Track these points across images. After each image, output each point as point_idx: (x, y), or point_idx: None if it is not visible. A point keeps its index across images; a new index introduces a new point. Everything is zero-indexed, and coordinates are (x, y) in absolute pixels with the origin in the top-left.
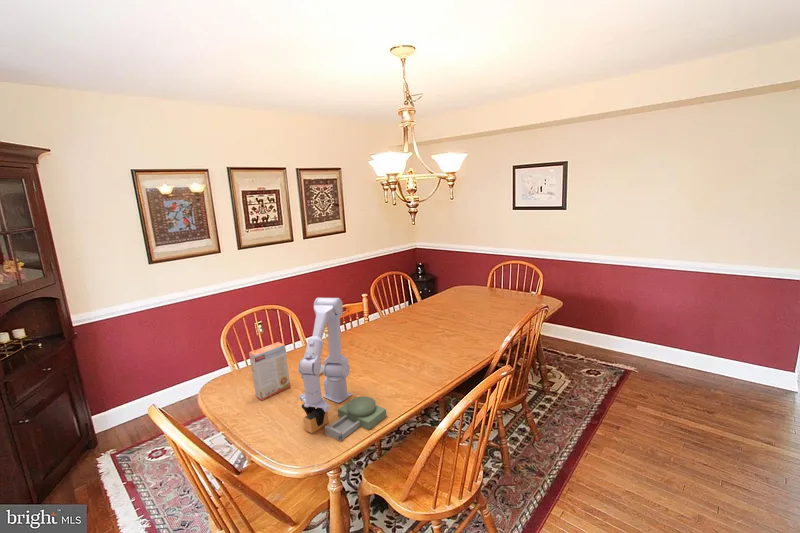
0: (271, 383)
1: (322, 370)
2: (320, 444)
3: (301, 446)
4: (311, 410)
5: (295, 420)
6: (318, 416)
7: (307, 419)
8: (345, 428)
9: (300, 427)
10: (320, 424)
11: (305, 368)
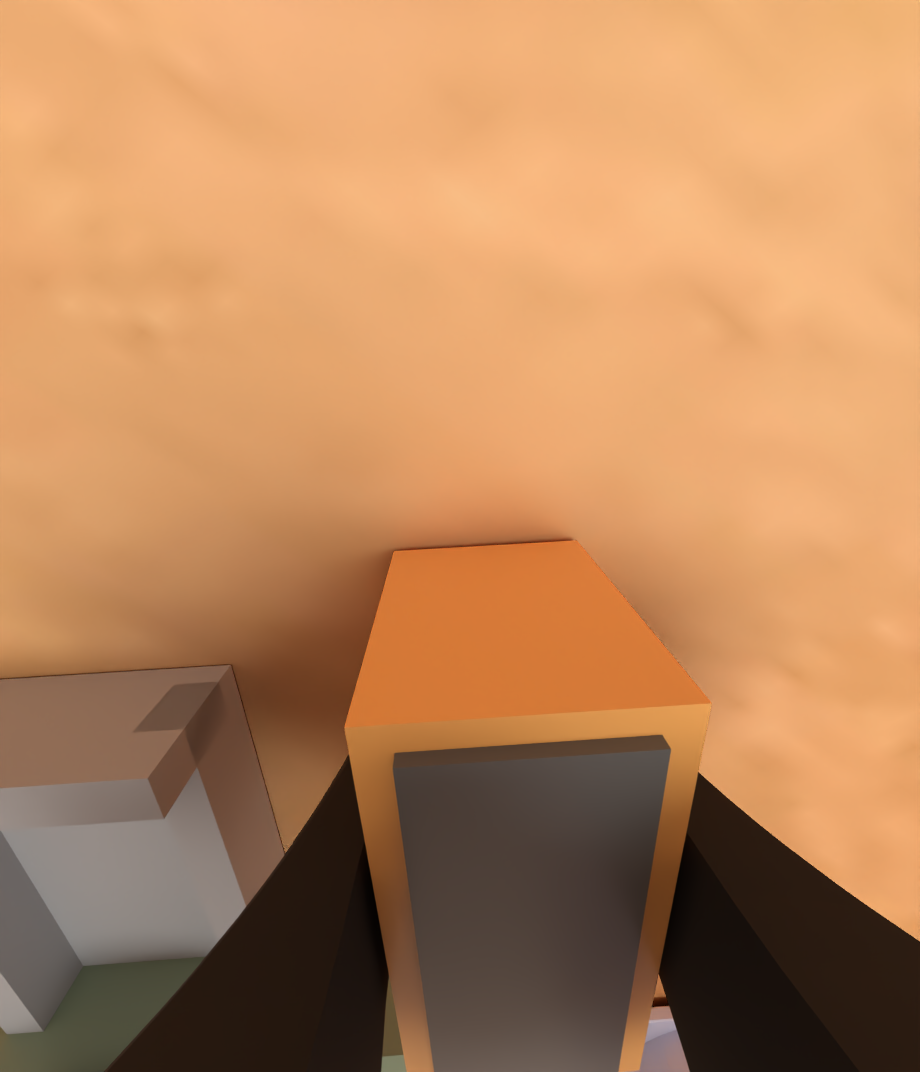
0: None
1: None
2: (29, 467)
3: (217, 192)
4: (704, 991)
5: (898, 592)
6: (164, 1021)
7: (508, 723)
8: (98, 860)
9: (695, 537)
10: None
11: None
